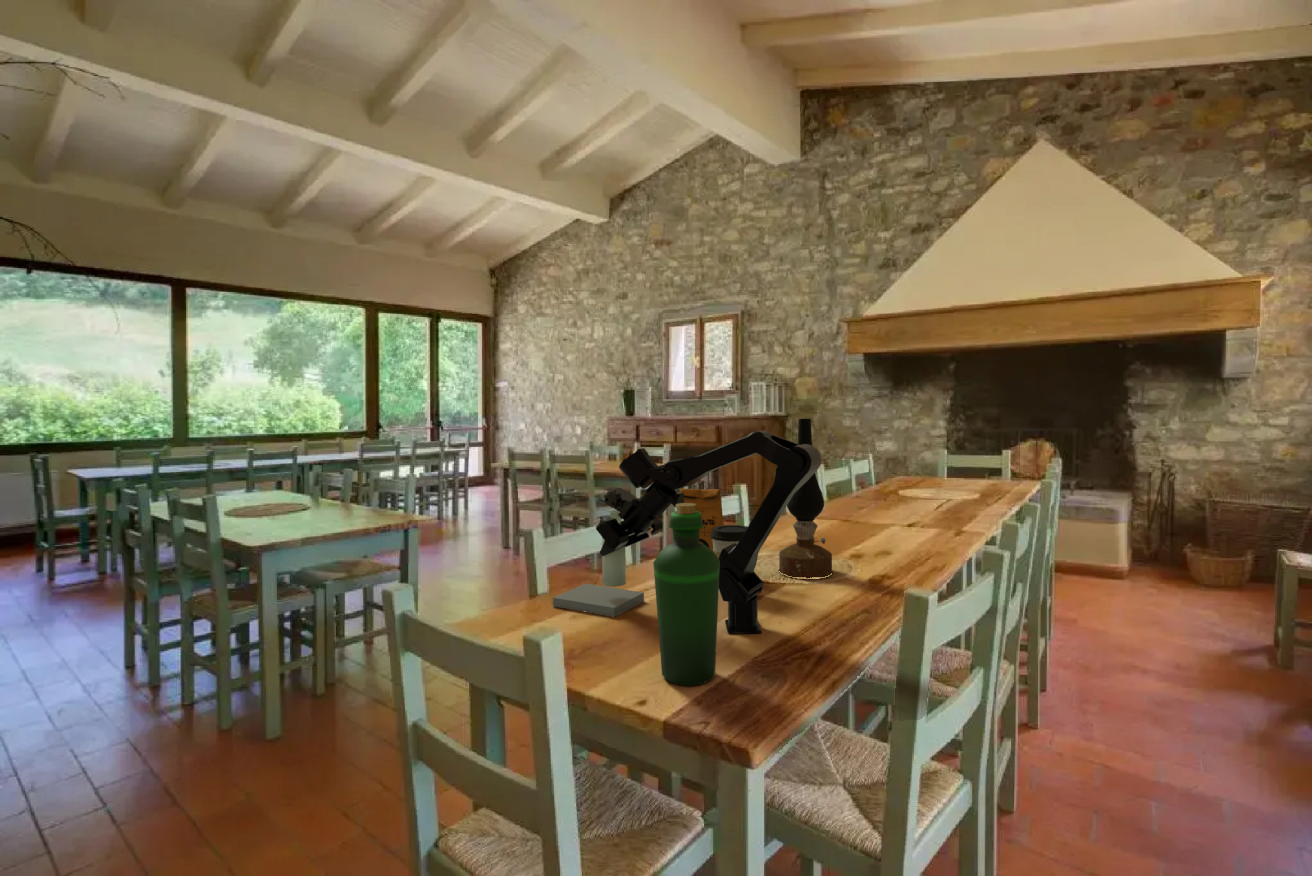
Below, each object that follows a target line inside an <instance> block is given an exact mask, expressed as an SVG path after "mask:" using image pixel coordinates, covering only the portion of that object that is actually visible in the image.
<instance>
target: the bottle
mask: <svg viewBox="0 0 1312 876" xmlns="http://www.w3.org/2000/svg"><path fill="white" fill-rule="evenodd" d="M695 508H696V504H694V503H679V504H676V507H675V510H674V511H672V512H671V513H670V519H669V523H668V528H670V529H671V530H672V535H673V536H672V537H673V539H672V540H673V542H672V543H669V544H668V545H666V546H665V547H664V548H662V549H661V550H660V552H658V554H657V556H656V557H655V560H654V561H653V572H654V588H655V599H656V614H657V626H658V637H659V638H658V639H659V640H658V641H659V652H660V653H659V654H660V664H661V665H660V666H661V675H662V676H663V677H664V679H665V680H666V681H668V682H670V683H672V684H673V683H674V684H676V685H679V686H686V687H687V686H689V687H691V686H698V685H703V684H705V683H707V682H708V681H711V680H713V679H714V677H715V674H716V661H717V657H716V656H717V637H718V635H717V633H718V616H719V615H718V613H719V595H720V594H719V570H720V560H719V559H718V557H717V556H716V554H715V553H714V551H713V550H711V549H710V548H708V547H707V546H705V545H704V544H702V543H700V542H699V533H700V528H702V527H703V522H702V517H701V513H700V512H699V511H695Z"/></svg>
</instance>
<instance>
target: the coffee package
mask: <svg viewBox="0 0 1312 876" xmlns="http://www.w3.org/2000/svg"><path fill="white" fill-rule="evenodd" d="M679 493H684V502H685V503H694V504H696V508H695V511H699V512H700V513H701V517H702V522H703V527H702V528H700V533H699V542H700V543H702V544H704V545H705V546H707V547H708V548H710V549H711V550H713V540H712V538H711V537H710V536H711V533H712V532H713V528H714V527H717V526H722V525H725V523H724V521H725V520H724V515H723V507H722V506H723V505H722V503H723V502H722V501H723V500H722V496H721V489H720V488H717V489H715V488H712V489H711V488H710V489H699V488H679Z"/></svg>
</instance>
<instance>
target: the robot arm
mask: <svg viewBox="0 0 1312 876" xmlns="http://www.w3.org/2000/svg"><path fill="white" fill-rule="evenodd" d="M756 454H758V455H760V456H761V457H763V458H764V459H766V460H767V461H768V462H770V463H771V464H773V465H775V466H776V469H775V472H774V476H773V477H774V478H773V483H772V486H771V487H770V489H769V491H768V493H767V494H766V496H765V497H764V499H763V500H762V502H761V504H760V506H759V507H758V509H757V511H756V513H755V514H754V516H753V517H752V519H751V521H750V522H749V524H748V526H747V529H746V531H745V532H744V534H743V536H742V537H741V539H740V541H739V542H738V544H736V543H733V544H731V545H729V546H727V547H725V548H723V549H722V551H721V553H720V556H719V558H718V559H719V560H720V570H719V590H720V593H721V595H720V596H721V600H722V601H723V602H727V619H725V620H724V623H725V628H726V632H727V633H728V634H762V627H761V625H760V622H759V618H758V615H759V614H758V612H759V611H758V596H757V595H758V594H761V593H762V591H763V589H764V586H765V582H764V581H763V580H762V579H761V578H760V576H759V575H758V574H757V573H756V572H755V569H756V566H757V563H758V557H759V553H760V550H761V548H762V547H763V545H764V544H765V542H766V540H767V539H768V538H769V536H770V534H771V532H772V531H773V529H774V528H775V526H776V524H777V523H778V521H779V519H780V518H781V516H782V514H783V513H784V512H785V510H786V508H787V505H788V503H789V501H790V500H791V498H792V496H793V495H794V493H795V492H796V491H797V490H798V489H799V488H800V487H801V486H802V485H804V484H805V483H806V482H807V481H808V480H809V478H810V477H811V476H812V475H813V474H814V473H815V474H816V472H817V471H818V470H819V468H820V467H821V464H822V457H821V453H820V451H819V450H818V448H816V447H815V446H813V445H812V446H811V445H809V444H803V445H799V444H798V442H797V443H796V442H794V441H792V440H789V439H786V438H783V437H781V436H778V435H774V434H773V433H771V432H769V431H767V430H764V429H763V430H757V431H752V432H751V433H749V434H748V435H746V436H744V437H741V438H740V439H739V438H738V439H737V440H734V441H732V442H729V443H727V444H724V445H721V446H720V447H716V448H714V449H712V450H709V451H707V452H705V453H701V454H700V455H694V456H689V457H684V458H679V459H674V460H673V459H672V460H669V461H667V462H665V463H664V464H662V465H658V464H657V463H656V461H655V460H653V458H652V457H651V456H650V455H649V453H648V451H647V450H646V449H645V448H643V447H642V448H638V449H637V450H636V451H635V452H633V453H631V454H629V456H627V457H626V458H624V459H622V460H621V462H620V464H619V465H618V466H619V467H618V468H619V470H620V471H621V473H622V474H624V476H625V477H626V479H627V480H628V481H629V482H630V484H632V486H633V487H634V488H635V489H639V488H641V489H642V490H645V491H644V492H643V493H642V494H641V495H640V496H639V497H638V498H637V496H635V495H634V494H632V493H631V492H629V491H628V490H626V489H624V488H621V487H615V488H612V489H610V490H607V493H606V494H604V496H603V498H604V501H603V502H604V504H605V505H606V506H608V507H610V508H612V509H614V510H616V511H617V512H618V514H617V516H618V517H619V518H620V520H622V521H620V523H619V521H618V520H617V518H613V517H610V518H609V517H608V518H605V519H602V520H600V521H599V523H598V524H596V526H595V529H596V531H597V532H598V533H599V535H600V536H601V538H602V537H603V539H604V540H605V541H604V543H603V546H602V545H601V549H600V551H599V554H600V555H601V557H602V556H605V555H607V554H610V553H612V552H614V551H616V550H619V549H621V548H623V547H625V548H627V547H631V546H632V545H634V544H637V543H639V542H641V541H644V540H646V539H649V538H650V535H651V536H655V535H657V534H659V533H660V532H661V531H662V529H663V525H664V523H663V521H662V520H661V519H662V518H663V513H664V512H665V511H666V510H667V509H668V508H669V507H670V506H671V505H672V506H673V507H674V508H676V504H679V503H685V502H684V493H680V491H677V489H679V490H680V488H681V489H683V488H685V487H689V486H692V485H694V484H695V483H697V482H699V481H701V480H702V479H703V478H705V477H706V476H708V475H709V474H710V473H711V472H713V471H716V470H718V469H720V468H724V467H725V466H728V465H731V464H733V463H735V462H739V461H741V460H744V459H746V458H748V457H752V456H754V455H756ZM651 529H652V530H651ZM649 532H650V533H649Z"/></svg>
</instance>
